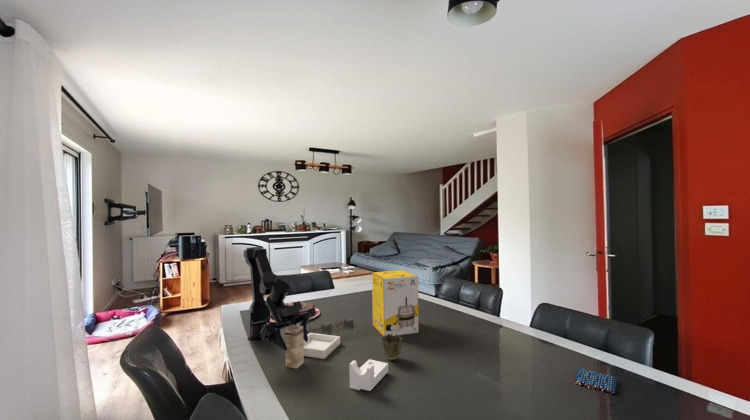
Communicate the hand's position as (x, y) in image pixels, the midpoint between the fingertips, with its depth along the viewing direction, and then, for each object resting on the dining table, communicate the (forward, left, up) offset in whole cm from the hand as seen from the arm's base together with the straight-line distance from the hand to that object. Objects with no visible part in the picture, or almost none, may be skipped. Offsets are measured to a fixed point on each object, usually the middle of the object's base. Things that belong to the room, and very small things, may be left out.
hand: (297, 345), depth 112 cm
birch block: (-1, 0, -7) cm, 7 cm away
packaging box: (+24, +44, -7) cm, 51 cm away
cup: (+31, +14, -7) cm, 35 cm away
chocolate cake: (-32, +47, -8) cm, 58 cm away
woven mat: (+95, +17, -8) cm, 97 cm away
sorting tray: (0, +14, -7) cm, 16 cm away
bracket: (+28, -2, -8) cm, 29 cm away
